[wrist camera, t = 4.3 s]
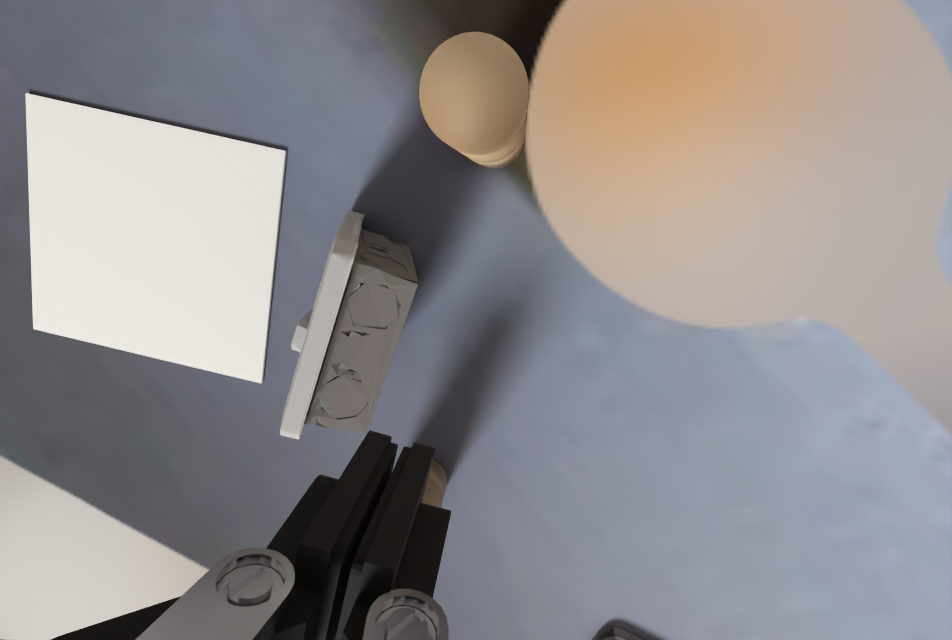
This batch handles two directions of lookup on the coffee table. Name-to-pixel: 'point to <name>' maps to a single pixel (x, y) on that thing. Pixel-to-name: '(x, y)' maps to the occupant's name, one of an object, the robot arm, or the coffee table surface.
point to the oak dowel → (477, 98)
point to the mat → (152, 236)
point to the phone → (614, 634)
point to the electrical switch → (350, 331)
